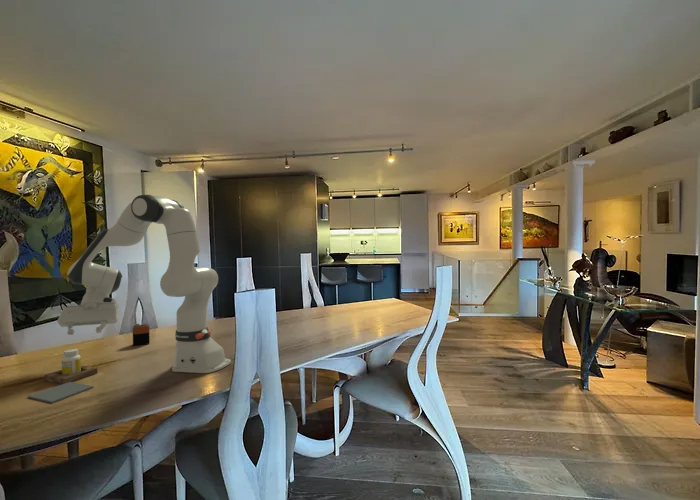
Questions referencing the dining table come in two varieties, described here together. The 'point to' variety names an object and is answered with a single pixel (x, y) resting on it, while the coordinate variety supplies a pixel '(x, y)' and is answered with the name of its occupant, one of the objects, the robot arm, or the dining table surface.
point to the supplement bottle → (71, 362)
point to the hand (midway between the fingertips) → (84, 333)
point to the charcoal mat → (60, 392)
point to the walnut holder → (63, 379)
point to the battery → (141, 334)
